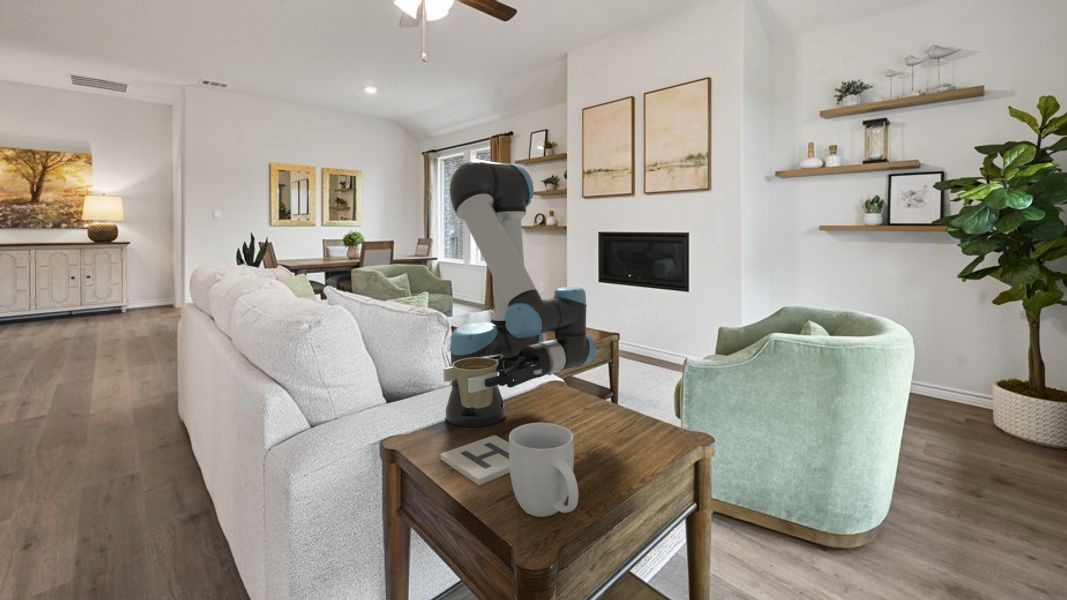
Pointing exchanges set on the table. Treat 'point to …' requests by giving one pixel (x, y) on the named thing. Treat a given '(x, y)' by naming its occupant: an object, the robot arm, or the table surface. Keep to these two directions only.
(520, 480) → the mug
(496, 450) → the letter board
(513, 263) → the robot arm
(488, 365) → the flower pot
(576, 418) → the table surface
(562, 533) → the table surface
